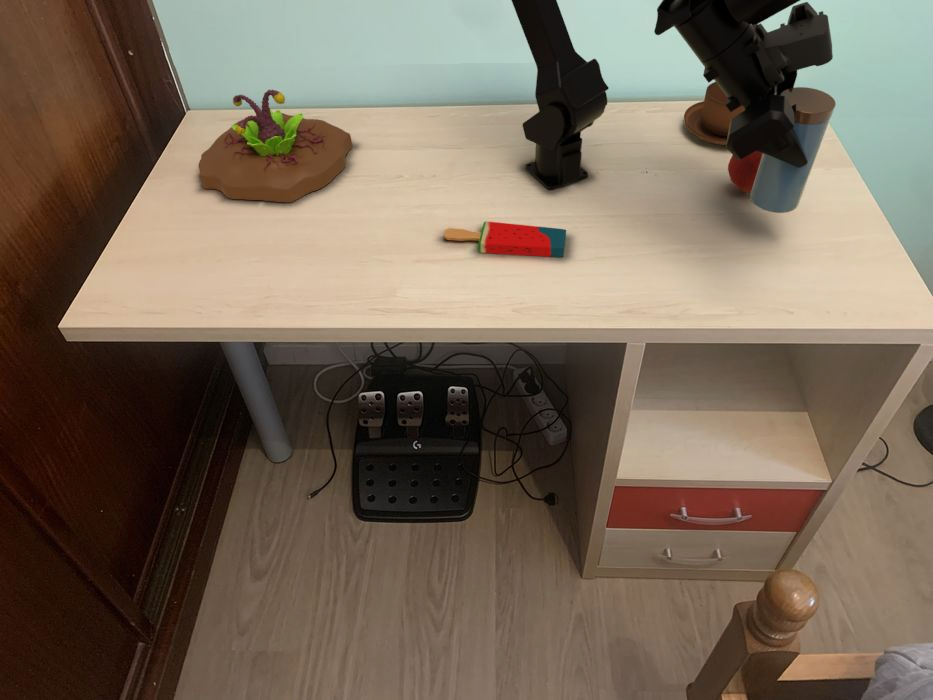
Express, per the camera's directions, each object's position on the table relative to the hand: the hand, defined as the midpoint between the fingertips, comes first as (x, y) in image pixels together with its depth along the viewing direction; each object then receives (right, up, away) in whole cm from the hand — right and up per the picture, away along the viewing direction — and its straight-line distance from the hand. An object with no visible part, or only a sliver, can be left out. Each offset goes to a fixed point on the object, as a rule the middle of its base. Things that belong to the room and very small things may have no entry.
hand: (803, 151), depth 81 cm
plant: (-64, +5, +24) cm, 69 cm away
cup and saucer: (+1, +10, +27) cm, 29 cm away
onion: (0, -1, +16) cm, 16 cm away
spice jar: (-1, -4, +5) cm, 7 cm away
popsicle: (-33, -9, +10) cm, 35 cm away
